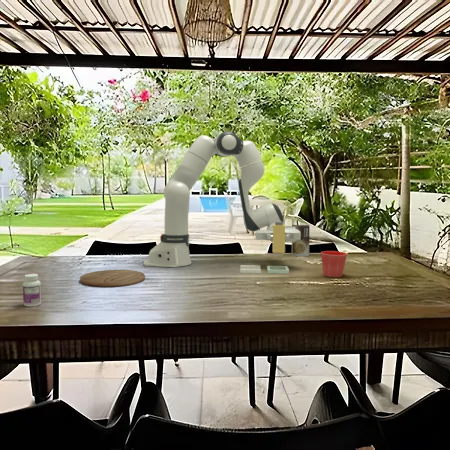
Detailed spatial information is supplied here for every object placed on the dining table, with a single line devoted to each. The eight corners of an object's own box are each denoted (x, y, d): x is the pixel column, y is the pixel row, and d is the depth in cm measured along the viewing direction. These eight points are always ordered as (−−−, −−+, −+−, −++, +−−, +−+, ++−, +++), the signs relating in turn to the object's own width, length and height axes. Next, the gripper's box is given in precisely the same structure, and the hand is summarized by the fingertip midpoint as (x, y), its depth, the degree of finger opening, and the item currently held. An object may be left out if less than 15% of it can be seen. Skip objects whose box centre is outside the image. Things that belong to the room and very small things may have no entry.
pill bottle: (27, 302, 143) (25, 273, 142) (43, 302, 144) (42, 273, 143) (20, 307, 138) (19, 276, 137) (38, 306, 138) (37, 276, 137)
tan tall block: (273, 252, 191) (273, 222, 190) (272, 251, 196) (272, 221, 195) (284, 252, 191) (285, 222, 190) (283, 251, 196) (284, 221, 195)
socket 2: (267, 273, 190) (268, 269, 190) (267, 269, 199) (267, 265, 199) (288, 273, 190) (289, 270, 190) (287, 269, 199) (287, 266, 199)
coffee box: (308, 254, 239) (309, 224, 238) (309, 256, 233) (310, 226, 231) (291, 253, 240) (291, 224, 238) (291, 255, 234) (292, 225, 232)
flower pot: (347, 274, 190) (348, 251, 189) (343, 279, 180) (344, 255, 179) (323, 271, 195) (324, 250, 194) (317, 276, 185) (318, 253, 184)
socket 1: (240, 272, 191) (240, 269, 190) (240, 268, 200) (240, 265, 200) (261, 273, 190) (261, 269, 190) (260, 268, 199) (260, 265, 199)
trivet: (66, 284, 168) (66, 279, 168) (105, 272, 192) (105, 267, 191) (122, 291, 160) (122, 286, 160) (156, 276, 183) (156, 272, 183)
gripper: (254, 226, 206) (255, 230, 192) (298, 226, 205) (302, 230, 191) (254, 240, 207) (255, 244, 193) (298, 240, 206) (302, 244, 192)
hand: (278, 237), depth 192 cm, fingers closed on tan tall block, 5 cm apart
